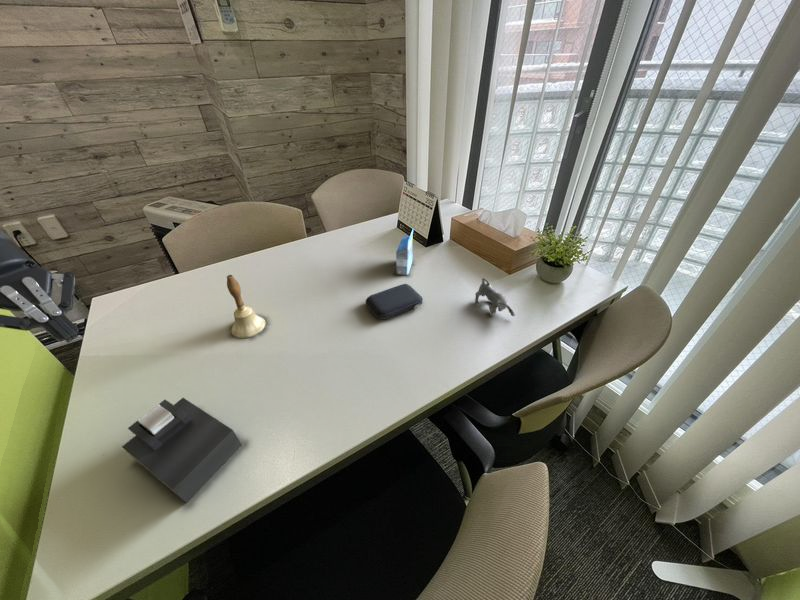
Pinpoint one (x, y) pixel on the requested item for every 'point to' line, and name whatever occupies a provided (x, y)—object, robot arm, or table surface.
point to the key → (156, 419)
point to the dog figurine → (493, 298)
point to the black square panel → (183, 448)
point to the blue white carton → (404, 255)
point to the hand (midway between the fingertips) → (72, 338)
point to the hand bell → (243, 313)
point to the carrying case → (394, 301)
